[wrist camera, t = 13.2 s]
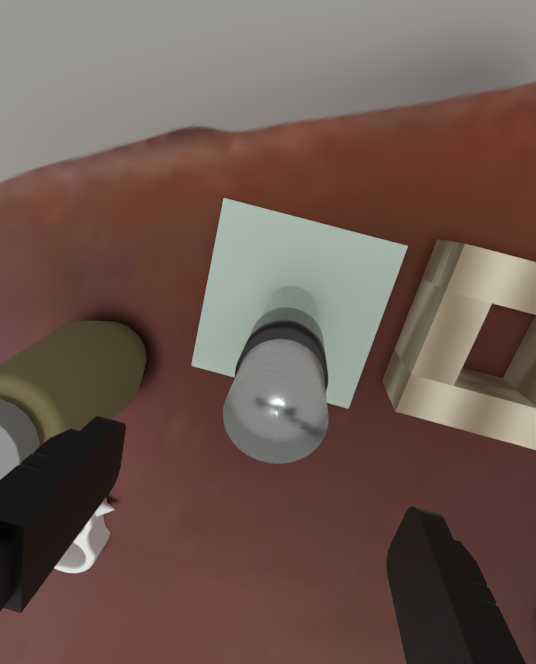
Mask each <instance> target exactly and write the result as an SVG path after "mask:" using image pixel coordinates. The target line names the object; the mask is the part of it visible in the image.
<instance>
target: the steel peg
mask: <svg viewBox="0 0 536 664" xmlns="http://www.w3.org/2000/svg"><path fill="white" fill-rule="evenodd" d="M327 387H328V370H327V362H326V355H325V348H324V340H323V335H322V331H321V329H320V327H319V325H318V317H317V308H316V304H315V301H314V299H313V297H312V296H311V295H310V294H309V293H308V292H307V291H306V290H304V289H302V288H299V287H295V286H287V287H283V288H281V289H279V290H277V291H276V292H275V293H273V295H272V296H271V297H270V299H269V301H268V303H267V305H266V307H265V310H264V312H263V314H262V317H260V318H259V320H258V321H257V322H256V324H255V325H254V327H253V329H252V331H251V334H250V336H249V338H248V340H247V342H246V344H245V346H244V349H243V351H242V353H241V355H240V357H239V359H238V362H237V365H236V369H235V379H234V382H233V384H232V386H231V389H230V391H229V393H228V396H227V398H226V400H225V404H224V408H223V421H224V426H225V429H226V431H227V434H228V435H229V437H230V439H231V440H232V442H233V443H234V444H235V445H236V446H237V447H238V448H239V449H240V450H241V451H243V452H244V453H245V454H247V455H249V456H250V457H252V458H255V459H257V460H260V461H263V462H268V463H289V462H294V461H297V460H300V459H302V458H304V457H306V456H308V455H309V454H310V453H312V452H313V451H314V450H315V449H316V448H317V447H318V446H319V445H320V444H321V442H322V441H323V439H324V437H325V434H326V432H327V428H328V409H327V400H326V391H327Z"/></svg>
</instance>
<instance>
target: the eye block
mask: <svg viewBox="0 0 536 664" xmlns="http://www.w3.org/2000/svg"><path fill="white" fill-rule="evenodd" d="M492 303H493V304H497V305H501V306H504V307H508V308H512V309H516V310H519V311H523V312H527V313H531V314H535V315H534V317H533V319H532V321H531V323H530V325H529V327H528V329H527V331H526V333H525V335H524V337H523V339H522V341H521V343H520V345H519V347H518V349H517V351H516V353H515V355H514V357H513V359H512V361H511V362H510V364H509V366H508V368H507V370H506V372H505V374H504V376H503V378H500V377H496V376H493V375H489V374H485V373H481V372H478V371H474V370H470V369H467V368H463V365H464V363H465V361H466V358H467V356H468V354H469V352H470V350H471V348H472V346H473V343H474V341H475V339H476V337H477V335H478V333H479V330H480V328H481V326H482V324H483V322H484V320H485V318H486V315H487V313H488V311H489V309H490V307H491V305H492ZM382 383H383V385H384V387H385V389H386V392H387V394H388V396H389V398H390V401H391V403H392V405H393V407H394V409H395V412H399V413H403V414H406V415H410V416H414V417H417V418H421V419H425V420H428V421H432V422H436V423H439V424H443V425H447V426H450V427H454V428H458V429H461V430H465V431H469V432H472V433H476V434H480V435H483V436H487V437H491V438H494V439H498V440H502V441H505V442H509V443H512V444H516V445H520V446H523V447H527V448H531V449H534V450H536V262H533V261H529V260H526V259H522V258H518V257H514V256H510V255H506V254H503V253H499V252H495V251H491V250H487V249H483V248H480V247H476V246H472V245H468V244H464V243H458V242H452V241H446V240H441V239H437V241H436V244H435V246H434V249H433V251H432V254H431V256H430V259H429V262H428V264H427V267H426V269H425V272H424V274H423V277H422V279H421V282H420V285H419V287H418V290H417V292H416V295H415V297H414V300H413V303H412V305H411V308H410V310H409V313H408V315H407V318H406V321H405V323H404V326H403V328H402V331H401V333H400V336H399V338H398V341H397V344H396V346H395V349H394V351H393V354H392V356H391V359H390V362H389V364H388V367H387V369H386V372H385V374H384V377H383V379H382Z"/></svg>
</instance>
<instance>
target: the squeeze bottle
mask: <svg viewBox="0 0 536 664" xmlns="http://www.w3.org/2000/svg"><path fill="white" fill-rule="evenodd" d="M146 361H147V356H146V349H145V346H144V344H143V342H142V341H141V339H140V337H139V336H138V335H137V334H136V333H135V332H134V331H133V330H132V329H131V328H129V327H128V326H125V325H123V324H120V323H118V322H109V321H73V322H71V323H68V324H66V325H64V326H62V327H60V328H58V329H56V330H55V331H53V332H52V333H50V334H48V335H47V336H45V337H44V338H42V339H41V340H39V341H37V342H36V343H34V344H33V345H31V346H29V347H28V348H26V349H25V350H23V351H22V352H20V353H18V354H17V355H15V356H14V357H12V358H11V359H9V360H7V361H6V362H4V363H3V364H1V365H0V480H1V479H2V478H3V477H4V476H5V475H6V474H8V473H9V472H10V471H11V470H12V469H14V468H15V467H16V466H17V465H20V464H21V462H22V461H23V460H24V459H26V458H27V457H28V456H29V455H30V454H31V453H32V454H33V453H34V452H35V450H36V449H37V448H39V447H40V446H41V445H42V444H43V443H45V442H46V441H47V440H48V439H49V438H51V437H53V436H55V435H57V434H60V433H62V432H64V431H67V430H69V429H74V430H78V431H80V430H81V429H82V428H83V427H85V426H86V425H87V424H88V423H89V422H90V421H91V420H92V419H93V418H95V417H96V416H101V417H104V418H108V419H111V418H112V417H114V416H115V415H116V414H118V413H119V412H120V411H121V410H123V409H124V408H125V407H126V406H127V405H128V404H129V403H130V402H131V401H132V400H133V399H134V398H135V397H136V396H137V394H138V391H139V387H140V384H141V380H142V377H143V373H144V369H145V365H146Z"/></svg>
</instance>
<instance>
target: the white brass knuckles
mask: <svg viewBox="0 0 536 664" xmlns="http://www.w3.org/2000/svg"><path fill="white" fill-rule="evenodd" d="M113 510H115V509H114V508H113V507H112V506H110V505H109V504H108V503H107V499H106V498H105V499H104V501H103V502H102V504H101V505H100V506H99V508H98V509H97V510H96V512H95V513H94V514H93V516H92V517H91V518H90V520H89V521H88V523H87V524H86V525H85V527H84V528H83V529H82V531H81V532H80V533H79V535H78V536H77V538H76V539H75V540H74V542H73V543H72V544H71V546H70V547H69V548H68V550H67V551H66V552H65V554H64V555H63V557H62V558H61V559H60V561H59V562H58V563H57V565H56V566H55V567H54V568H55V569H57V570H60V571H63V572H67V573H79V572H83V571H85V570H87V569H89V568H90V567H91V566H92V565H93V564H94V562H95V560H96V559H97V557H98V556H99V554H100V552H101V551H102V549H103V548H104V546H105V544H106V543H107V541H108V539H109V537H110V532H109V531H108V529H107V528H106V526H105V523H104V519H103V515H104V514H105V513H108V512H110V511H113Z"/></svg>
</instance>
